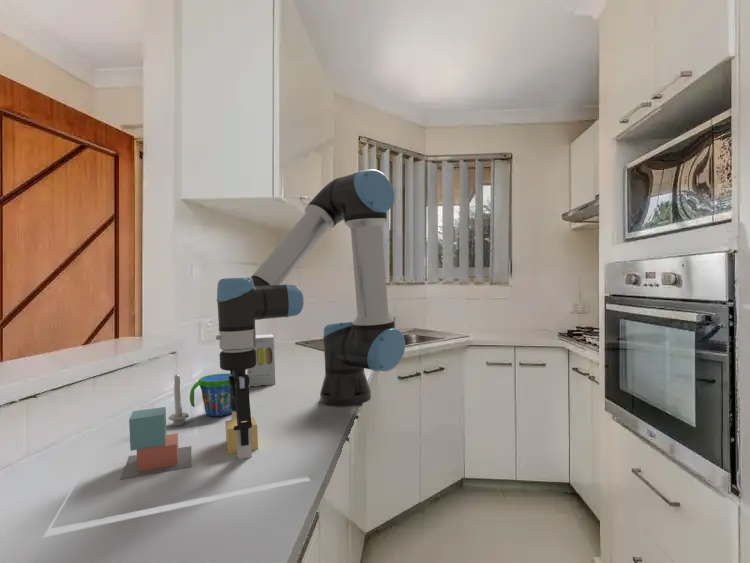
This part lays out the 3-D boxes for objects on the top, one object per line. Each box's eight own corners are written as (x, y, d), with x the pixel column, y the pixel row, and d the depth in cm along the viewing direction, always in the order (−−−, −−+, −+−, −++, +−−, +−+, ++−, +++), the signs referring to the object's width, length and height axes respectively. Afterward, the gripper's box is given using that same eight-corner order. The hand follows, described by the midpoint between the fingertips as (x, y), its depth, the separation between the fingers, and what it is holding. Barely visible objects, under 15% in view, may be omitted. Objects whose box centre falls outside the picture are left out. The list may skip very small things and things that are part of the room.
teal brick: (166, 435, 93) (165, 406, 93) (165, 445, 88) (163, 414, 88) (134, 440, 91) (132, 411, 91) (130, 450, 86) (129, 419, 86)
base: (191, 449, 98) (190, 427, 98) (191, 470, 87) (190, 446, 87) (129, 459, 94) (128, 437, 93) (120, 483, 82) (119, 457, 82)
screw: (170, 422, 118) (190, 420, 119) (167, 428, 113) (188, 425, 115) (168, 373, 118) (187, 371, 119) (165, 377, 113) (186, 375, 114)
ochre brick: (254, 443, 101) (253, 416, 101) (258, 452, 95) (257, 424, 95) (226, 448, 98) (225, 421, 98) (228, 458, 93) (227, 429, 93)
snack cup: (242, 404, 133) (241, 369, 133) (254, 412, 124) (252, 375, 124) (186, 414, 124) (185, 378, 124) (194, 424, 116) (193, 384, 116)
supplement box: (247, 387, 154) (245, 338, 153) (247, 381, 162) (245, 335, 162) (276, 384, 156) (274, 336, 156) (274, 379, 165) (273, 333, 165)
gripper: (216, 343, 106) (220, 434, 107) (222, 360, 84) (227, 474, 84) (249, 341, 109) (252, 429, 109) (263, 356, 87) (268, 467, 87)
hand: (241, 449), depth 97 cm, fingers open, 12 cm apart
